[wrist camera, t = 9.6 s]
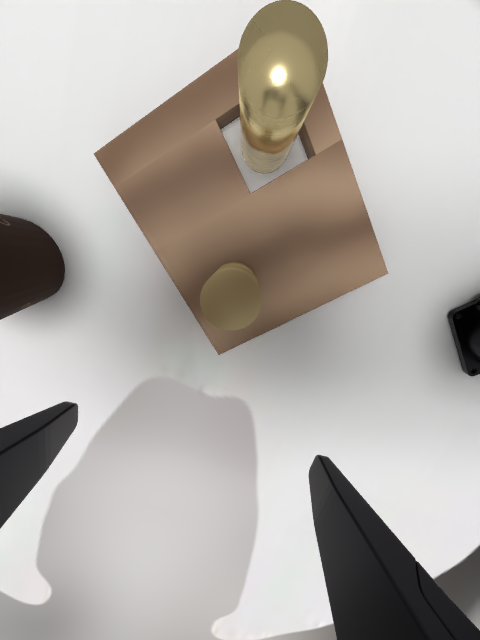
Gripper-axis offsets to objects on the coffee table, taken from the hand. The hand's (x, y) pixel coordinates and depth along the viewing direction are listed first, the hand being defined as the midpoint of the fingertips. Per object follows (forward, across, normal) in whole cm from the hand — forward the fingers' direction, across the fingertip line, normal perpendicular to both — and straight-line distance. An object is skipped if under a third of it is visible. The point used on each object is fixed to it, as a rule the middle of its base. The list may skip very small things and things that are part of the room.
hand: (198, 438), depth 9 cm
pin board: (+12, 0, -9) cm, 15 cm away
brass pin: (+12, 0, -13) cm, 18 cm away
